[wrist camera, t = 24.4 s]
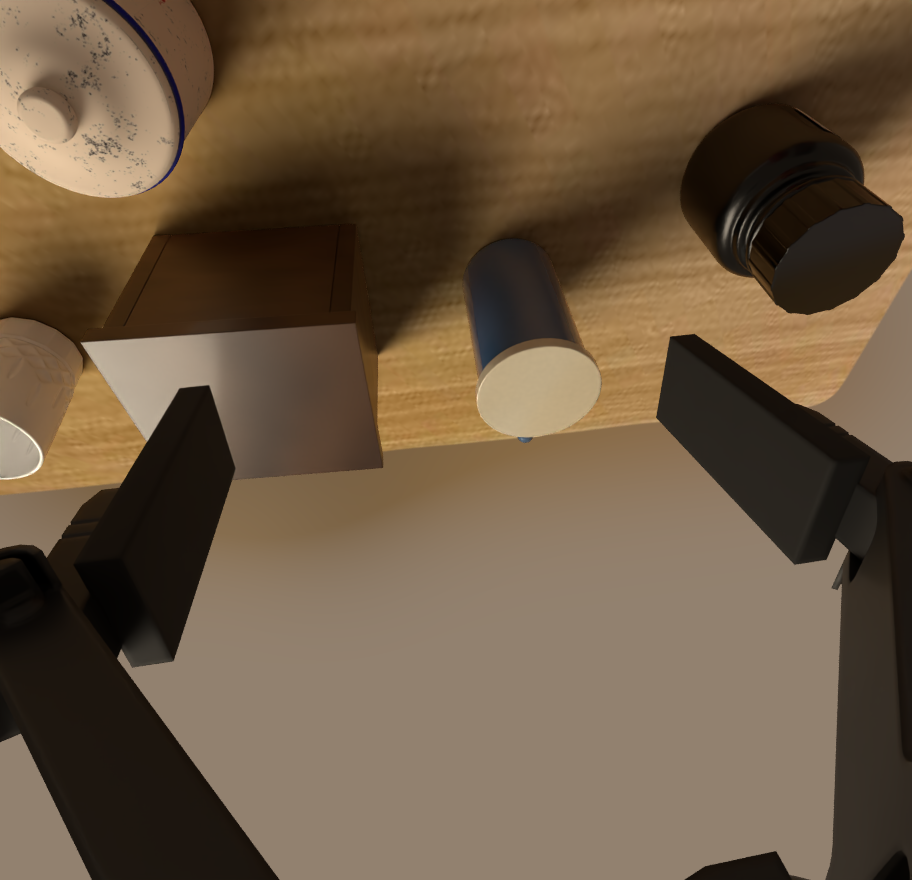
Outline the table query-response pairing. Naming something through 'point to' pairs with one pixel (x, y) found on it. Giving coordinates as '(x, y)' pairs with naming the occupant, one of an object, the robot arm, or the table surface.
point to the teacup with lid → (101, 89)
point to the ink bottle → (789, 208)
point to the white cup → (33, 392)
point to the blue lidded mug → (526, 343)
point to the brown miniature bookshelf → (253, 344)
